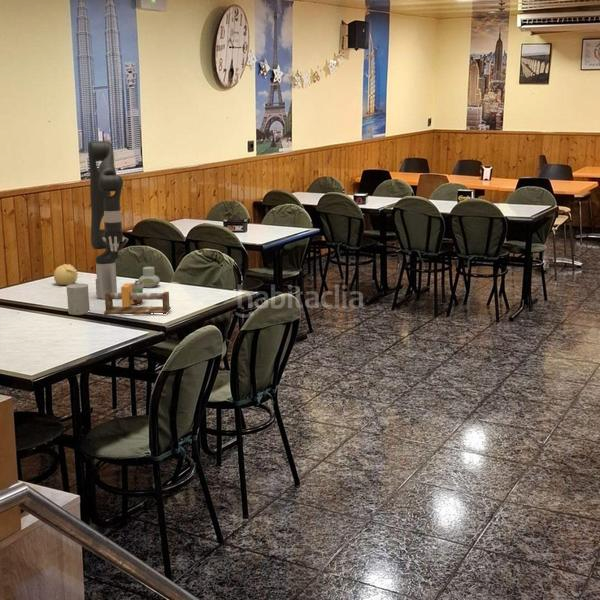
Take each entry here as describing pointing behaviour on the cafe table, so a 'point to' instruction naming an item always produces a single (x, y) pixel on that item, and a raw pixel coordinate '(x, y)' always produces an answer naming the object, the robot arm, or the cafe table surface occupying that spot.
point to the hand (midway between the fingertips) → (115, 259)
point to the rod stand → (137, 310)
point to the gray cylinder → (78, 299)
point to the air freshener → (149, 277)
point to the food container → (137, 290)
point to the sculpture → (65, 275)
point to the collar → (126, 294)
